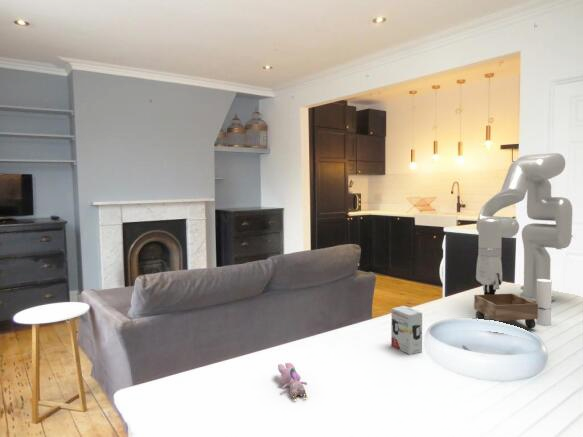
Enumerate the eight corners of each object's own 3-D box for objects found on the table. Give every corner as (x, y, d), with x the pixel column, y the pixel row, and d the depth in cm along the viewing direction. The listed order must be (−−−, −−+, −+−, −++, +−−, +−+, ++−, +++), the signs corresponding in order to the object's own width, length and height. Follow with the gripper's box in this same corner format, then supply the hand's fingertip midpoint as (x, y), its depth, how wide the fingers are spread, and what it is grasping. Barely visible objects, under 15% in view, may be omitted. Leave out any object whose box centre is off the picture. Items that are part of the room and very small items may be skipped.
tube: (546, 321, 146) (547, 279, 145) (553, 325, 142) (554, 281, 141) (534, 321, 147) (534, 279, 146) (540, 325, 143) (540, 281, 142)
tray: (474, 319, 150) (474, 295, 149) (511, 317, 151) (512, 293, 150) (496, 332, 136) (496, 305, 136) (537, 330, 137) (537, 303, 137)
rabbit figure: (313, 403, 97) (294, 367, 111) (314, 380, 95) (294, 347, 109) (287, 408, 95) (271, 371, 109) (288, 385, 94) (271, 350, 108)
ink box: (390, 345, 128) (390, 307, 127) (403, 342, 130) (403, 305, 129) (409, 355, 120) (409, 314, 119) (422, 352, 122) (422, 312, 121)
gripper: (469, 250, 159) (469, 297, 160) (491, 256, 144) (490, 308, 145) (488, 249, 159) (488, 297, 160) (512, 255, 144) (511, 307, 145)
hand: (489, 302), depth 153 cm, fingers closed
